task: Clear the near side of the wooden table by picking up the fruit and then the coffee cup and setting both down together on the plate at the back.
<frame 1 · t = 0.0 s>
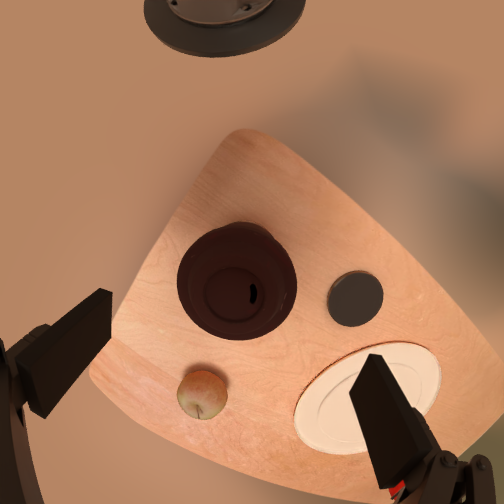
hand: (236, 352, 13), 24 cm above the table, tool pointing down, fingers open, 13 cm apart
tomato: (404, 471, 50), on the table
slate coaster: (355, 298, 38), on the table
fruit: (206, 379, 42), on the table
plate: (371, 405, 43), on the table
coffee cup: (245, 248, 37), on the table
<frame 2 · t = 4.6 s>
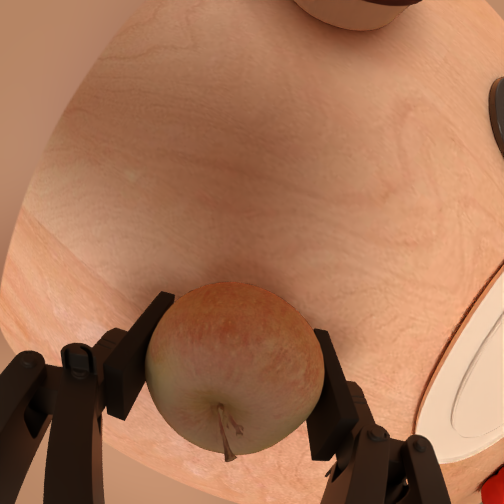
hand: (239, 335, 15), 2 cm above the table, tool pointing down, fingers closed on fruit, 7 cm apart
tomato: (498, 471, 25), on the table
fruit: (241, 326, 15), point 2 cm above the table, touching gripper
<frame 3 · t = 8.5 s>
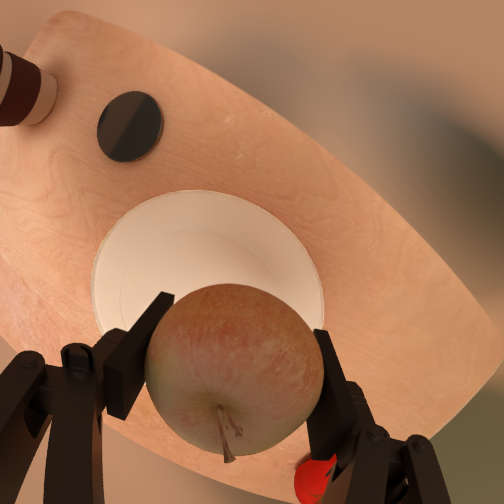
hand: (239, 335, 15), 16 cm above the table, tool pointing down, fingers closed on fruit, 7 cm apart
tomato: (322, 461, 40), on the table
slate coaster: (130, 126, 27), on the table
fruit: (240, 327, 15), point 16 cm above the table, touching gripper
plate: (199, 314, 33), on the table
coffee cup: (40, 99, 26), on the table
when the fingers open (1 cm above the table, at t = 12.4 s): fruit stays where it is, resting on plate.
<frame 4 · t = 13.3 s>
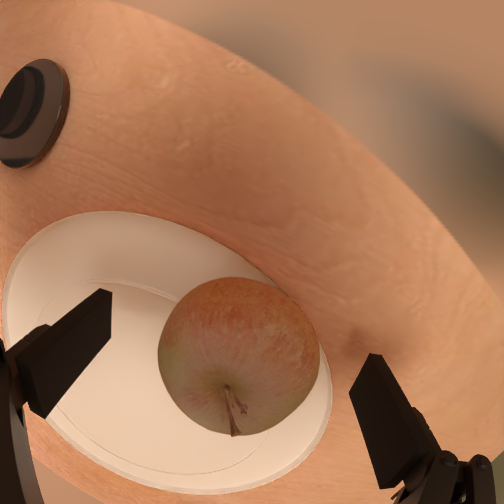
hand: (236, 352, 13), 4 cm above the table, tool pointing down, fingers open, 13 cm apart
slate coaster: (29, 113, 14), on the table
fruit: (243, 319, 17), resting on plate
plate: (139, 398, 19), on the table, touching fruit
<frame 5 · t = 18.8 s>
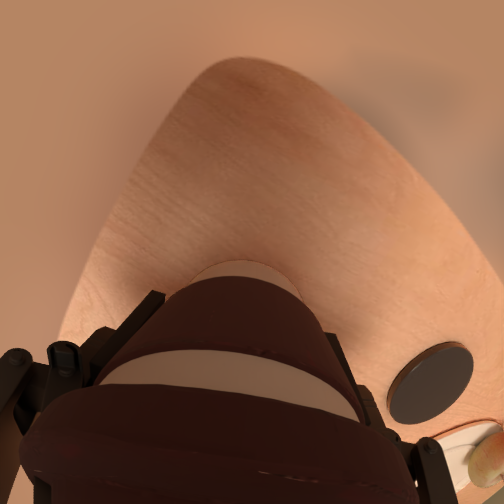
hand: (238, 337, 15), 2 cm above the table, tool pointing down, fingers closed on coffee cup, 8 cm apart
slate coaster: (430, 384, 18), on the table
fruit: (483, 441, 21), resting on plate
plate: (413, 489, 23), on the table, touching fruit
coffee cup: (242, 315, 17), on the table, touching gripper
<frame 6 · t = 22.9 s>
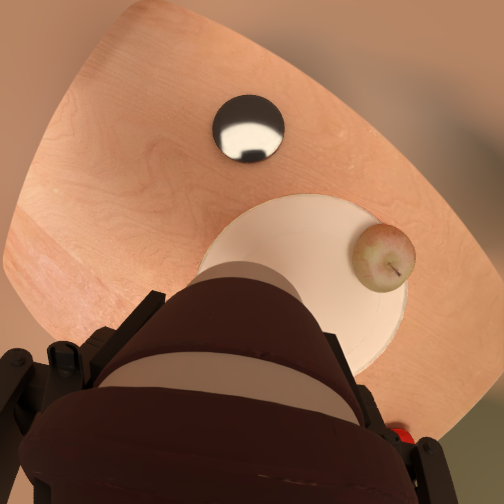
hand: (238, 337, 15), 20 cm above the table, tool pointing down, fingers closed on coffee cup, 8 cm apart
slate coaster: (248, 128, 31), on the table
fruit: (372, 249, 34), resting on plate
plate: (305, 306, 36), on the table, touching fruit
coffee cup: (241, 316, 17), point 18 cm above the table, touching gripper
when the fingers open (3 cm above the table, at t = 27.4 s): coffee cup stays where it is, resting on plate.
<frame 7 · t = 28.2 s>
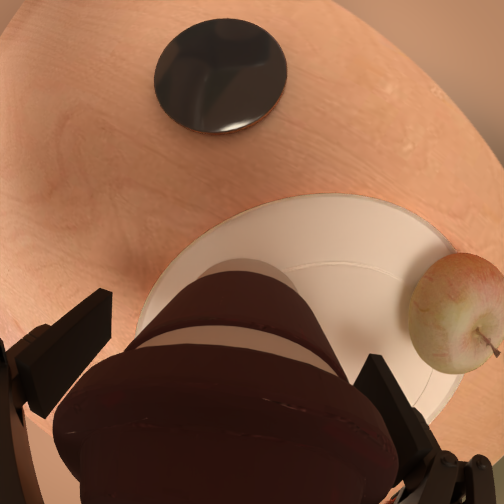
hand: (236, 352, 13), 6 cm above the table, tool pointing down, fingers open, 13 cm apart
slate coaster: (220, 74, 15), on the table
fruit: (433, 291, 18), resting on plate
plate: (319, 383, 20), on the table, touching coffee cup, fruit
coffee cup: (244, 309, 19), resting on plate
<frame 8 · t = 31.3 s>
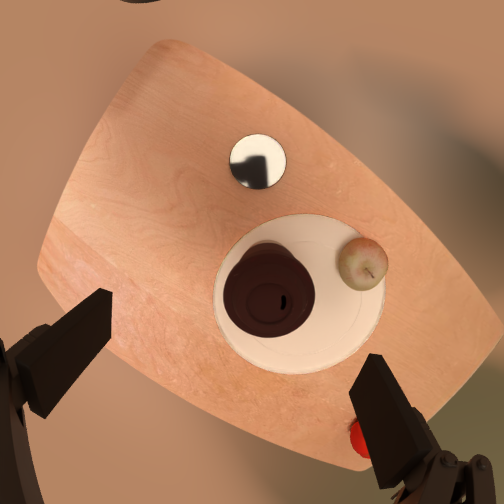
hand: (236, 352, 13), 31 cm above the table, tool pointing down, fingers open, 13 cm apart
tomato: (369, 420, 53), on the table
slate coaster: (257, 161, 40), on the table
fruit: (355, 256, 43), resting on plate
plate: (301, 301, 46), on the table, touching fruit
coffee cup: (267, 262, 44), on the table
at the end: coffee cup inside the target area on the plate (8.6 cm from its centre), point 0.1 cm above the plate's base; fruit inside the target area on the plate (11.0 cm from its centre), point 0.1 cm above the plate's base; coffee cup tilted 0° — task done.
